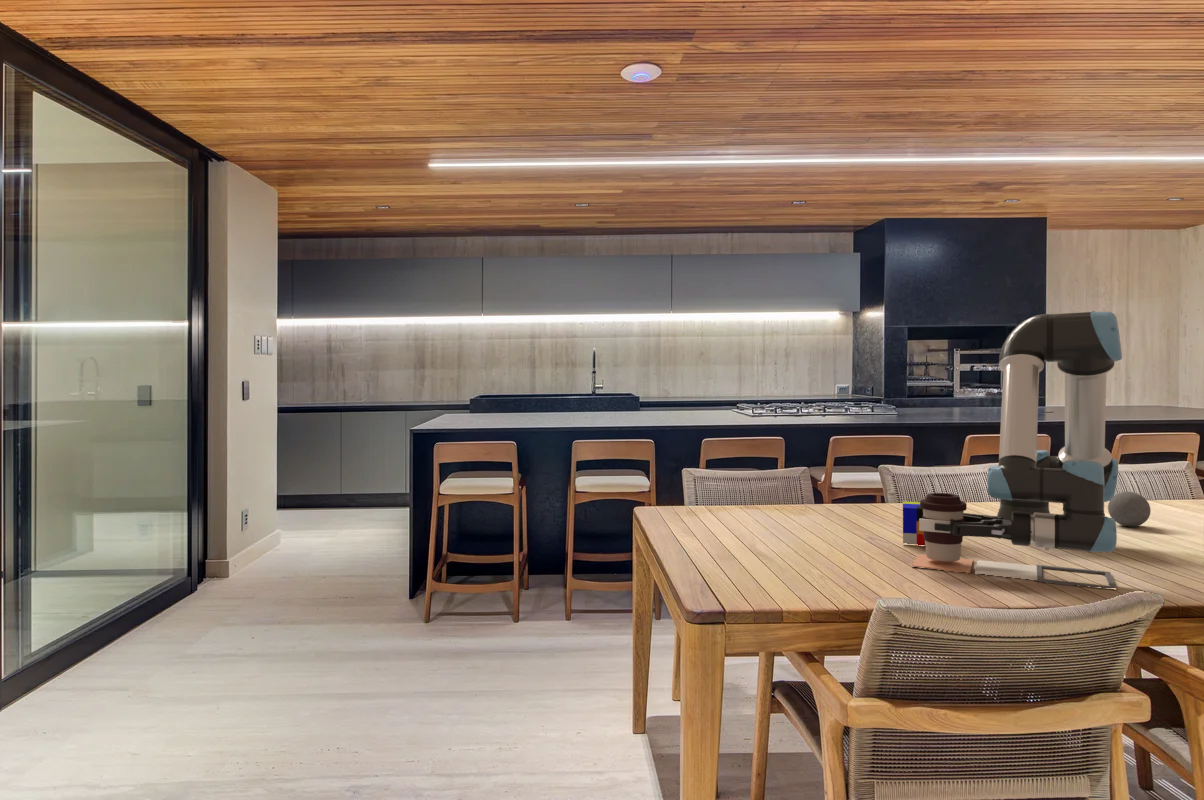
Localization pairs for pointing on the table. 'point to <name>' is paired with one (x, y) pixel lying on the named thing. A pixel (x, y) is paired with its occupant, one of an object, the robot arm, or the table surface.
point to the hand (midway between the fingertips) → (921, 520)
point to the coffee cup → (946, 509)
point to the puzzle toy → (912, 523)
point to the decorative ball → (1129, 509)
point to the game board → (1005, 570)
